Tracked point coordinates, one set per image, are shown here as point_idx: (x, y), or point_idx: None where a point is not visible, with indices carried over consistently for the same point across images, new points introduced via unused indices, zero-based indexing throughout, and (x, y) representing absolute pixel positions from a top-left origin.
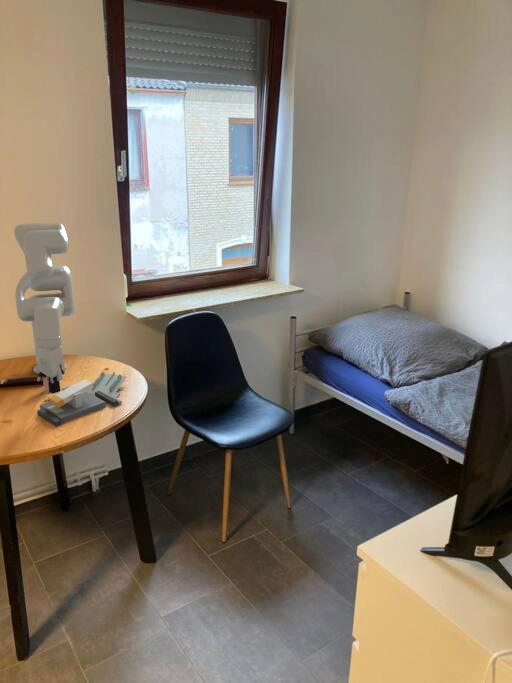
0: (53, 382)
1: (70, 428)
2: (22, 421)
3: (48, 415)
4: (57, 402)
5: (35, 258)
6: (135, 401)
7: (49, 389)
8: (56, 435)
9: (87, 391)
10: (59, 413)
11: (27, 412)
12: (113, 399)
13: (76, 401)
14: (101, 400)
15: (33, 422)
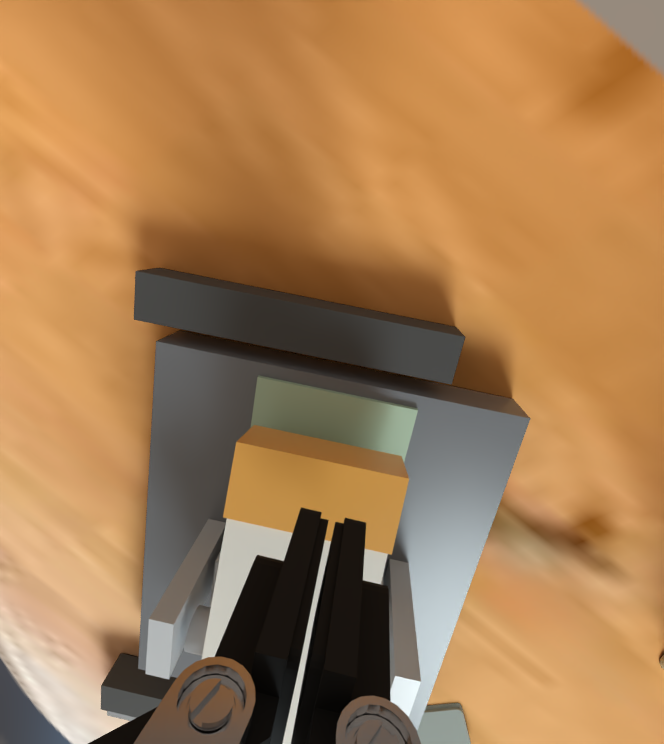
0: (175, 695)
1: (65, 314)
2: (485, 166)
3: (292, 322)
4: (236, 450)
5: None
6: (90, 738)
7: (345, 550)
8: (40, 172)
9: (420, 731)
10: (237, 393)
11: (583, 311)
12: (136, 709)
13: (182, 567)
14: (174, 672)
15: (381, 213)
